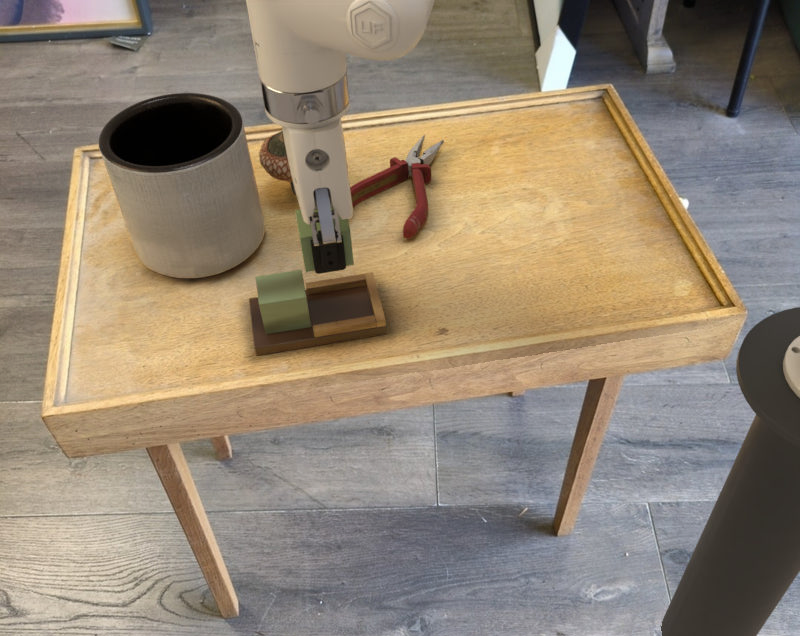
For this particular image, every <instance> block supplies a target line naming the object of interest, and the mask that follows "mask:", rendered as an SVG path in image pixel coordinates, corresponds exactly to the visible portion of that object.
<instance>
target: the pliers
mask: <svg viewBox="0 0 800 636" xmlns="http://www.w3.org/2000/svg"><path fill="white" fill-rule="evenodd" d="M425 138H426V135H425V134H423V135H422V137H420V138H419V140H418V141H417V142H416V143H415V145H413V146H412V147H411V148H410V150H409V151H408V153H407V155H406V158H405V159H399V158H398V157H395V156H394V157H392V158H390V159H389V167H388V168H386V169H383V170H381V171H379V172H377V173H375V174H372V175H370V176H369V177H366V178H365V179H362V180H360V181H358V182H356V183H355V184H353V185H350V191H351V199H352V206H353V208H355V206H357V205H358V204H360V203H361V202H363V201H365V200H367V199H369V198H371V197H373V196H375V195H378V194H380V193H381V192H384V191H386V190H388V189H390V188H391V187H394V186H396V185H398V184H400V183H404V182H406V180H408V179H409V177H411V181H412V187H413V193H414V199H415V200H414V201H415V208H414V210H412V212H411V213H410V215H409V216H408V217H407V218H406V220H405V222H404V224H403V228H402V237H403V238H404V239H406V240H407V239H409V240H410V239H413V238H414V237H415V236H416V235H417V233H418V232H419V231H420V229H421V228H422V226H423V225H424V224H425V222H426V220H427V218H428V214H429V201H428V195H427V189H426V184H429V183H431V181H432V168H431V166H430V165H431V164H432V163H433V160H434V159H435V157H436V156H437V154H438V153H439V151H440V149H441V147H442V146H443V144H444V143H445V140H444V139H442V140H441V141H438V142H436V143H434V144H433V145H431V146H429V147H428V148H427V149H426V150H424V151H423V154H422V155H421V151H422V148H423V144H424V141H425ZM420 155H421V156H420Z"/></svg>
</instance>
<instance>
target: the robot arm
mask: <svg viewBox="0 0 800 636" xmlns="http://www.w3.org/2000/svg"><path fill="white" fill-rule="evenodd" d="M435 1H436V0H245V3H246V4H245V5H246V9H247V13H248V20H249V26H250V31H251V38H252V42H253V48H254V54H255V61H256V66H257V72H258V77H259V81H260V82H259V83H260V88H261V93H262V101H263V105H264V110H265V115H266V117H267V118H268V119H269V120H270V121H271V122H272V123H274V124H275V125H278V126H280V127H281V131H283V136H284V142H285V147H286V152H287V157H288V162H289V167H290V171H291V176H292V180H293V184H294V188H295V192H296V195H295V196H296V198H297V202H298V206H299V210H301V213H302V217H303V220H304V222H305V223H307V224H309V225H310V224H311V231H312V237H313V240H310V242H311V248H312V255H313V262H314V268H315V271H314V272H315V274H317V275H321V274H327V273H332V272H333V273H334V272H339V271H345V270H346V269H347V266H346V259H345V250H344V241H343V236H342V235H341V232H340V225H339V216H340V217H341V219H342V220H344V219H348V220H351V219H352V218H353V216H354V207H353V206H352V199H351V191H350V187H351V184H350V175H349V167H348V165H349V164H348V157H347V150H346V143H345V135H344V128H343V123H342V118H343V117H344V116H345V115H346V114H347V112H349V109H350V105H351V100H350V88H349V77H348V64H347V54H348V55H352V56H354V57H359V58H362V59H368V60H372V61H391V60H392V61H393V60H397V59H399V58H402V57H404V56H406V55H408V54H409V53H410V52H412V50H413V49H414V48H416V46H418V44H419V42H420V41H421V39H422V37H423V35H424V33H425V31H426V28H427V25H428V22H429V19H430V16H431V13H432V11H433V8H434V3H435ZM332 207H333V210H331V208H332ZM314 210H318V212H315V213H314ZM316 223H320V229H321V230H320V231H318V233H317V227H316ZM333 224H334V225H333ZM783 372H784V375H785V379H786V381H787V382H788V384H789V386H790V388H791V389H792V390H793V391H794V392H795V394H796V395H797V396H798V397H799V398H800V336H799V337H797V338H796V339H795V340H794V341H793V342H792V343H791V344H790V345H789V347H788V349H787V351H786V353H785V356H784V360H783Z"/></svg>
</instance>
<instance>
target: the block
mask: <svg viewBox="0 0 800 636" xmlns="http://www.w3.org/2000/svg"><path fill="white" fill-rule="evenodd" d="M331 210H333V207H332V208H331ZM315 212H318V210H314V213H315ZM294 213H295V219H296V225H297V232H298V237H299V243H300V250H301V254H302V260H303V265H304V271H305V273H311V272H315V268H314V262H313V255H312V248H311V242H310V240H313V237H312V231H311V224H310V225H309V224H307V223H305V222H304V220H303V217H302V213H301V210H300V209H295V210H294ZM333 225H334V224H333ZM339 225H340V232H341V235H342V236H343V241H344V250H345V259H346V267H350V266H354V265H355V264H354V263H355V262H354V254H353V253H354V252H353V244H352V243H353V242H352V233H351V227H350V223H349V219H344V220H342V219H341V217H340V216H339ZM316 227H317V233H318V231H320V230H321V229H320V223H316Z"/></svg>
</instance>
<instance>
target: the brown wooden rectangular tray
mask: <svg viewBox="0 0 800 636" xmlns="http://www.w3.org/2000/svg"><path fill="white" fill-rule="evenodd" d="M255 282H256V283H255V284H256V291H257V297H251V298H249V299H248V302H249V303H248V304H249V310H250V311H249V312H250V320H251V321H250V322H251V329H252V338H253V339H252V340H253V348H254V352H255V356H262V355H268V354H274V353H280V352H286V351H292V350H298V349H304V348H310V347H316V346H321V345H322V346H323V345H328V344H333V343H334V344H335V343H340V342H346V341H347V342H348V341H352V340H359V339H364V338H365V339H366V338H369V337H370V338H371V337H376V336H377V337H378V336H383V335H387V334H388V330H387V321H386V317H385V312H384V308H383V305H382V301H381V297H380V293H379V290H378V285H377V281H376V277H375V274H374V272H373V271H372V272H366V273H359V274H353V275H346V276H341V277H334V278H329V279H322V280H315V281H310V282H309V281H308V282H305V281H304V275H303V270H302V269H294V270H289V271H283V272H276V273H275V272H274V273H269V274H263V275H257V276H255Z"/></svg>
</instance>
